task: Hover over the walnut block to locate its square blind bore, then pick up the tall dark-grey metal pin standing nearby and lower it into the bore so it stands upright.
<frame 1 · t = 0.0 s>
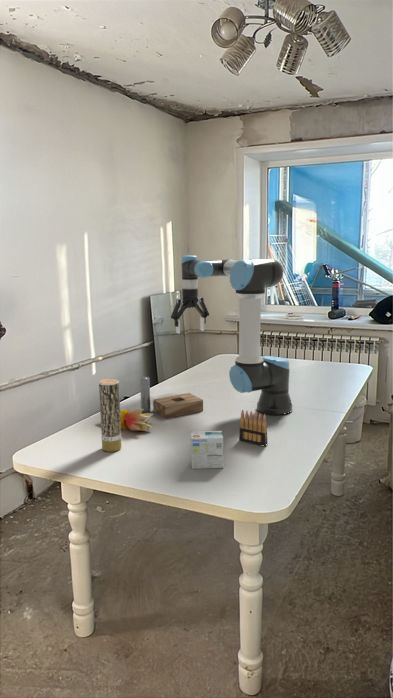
hand: (190, 331, 257), 28 cm above the table, fingers open, 13 cm apart
ammunition clip: (253, 443, 192), on the table
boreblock: (178, 410, 228), on the table
pin: (145, 414, 223), on the table
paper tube: (111, 449, 188), on the table
light bulb box: (207, 465, 174), on the table
torch: (126, 428, 208), on the table
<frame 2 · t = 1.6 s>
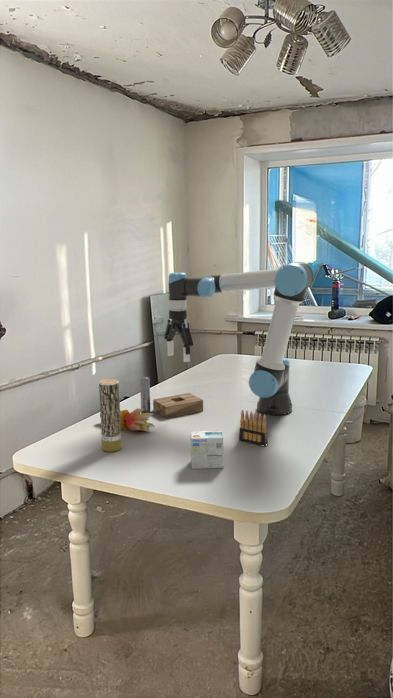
hand: (178, 358, 226), 22 cm above the table, fingers open, 13 cm apart
nothing on the table moved.
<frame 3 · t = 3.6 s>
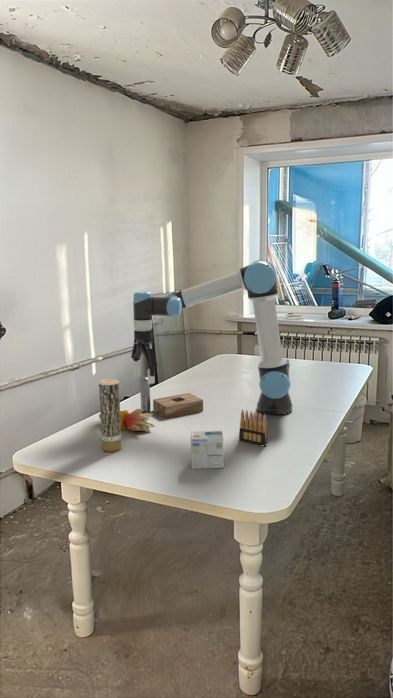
hand: (144, 379, 220), 15 cm above the table, fingers open, 13 cm apart
nothing on the table moved.
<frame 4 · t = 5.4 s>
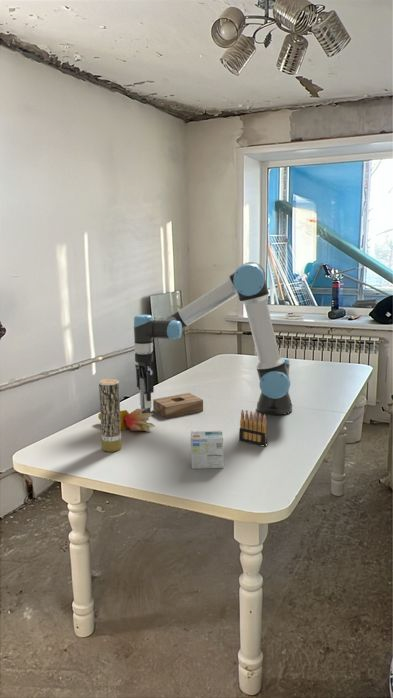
hand: (145, 406, 222), 4 cm above the table, fingers closed on pin, 4 cm apart
pin: (145, 414, 223), on the table, touching gripper
everything else where it was.
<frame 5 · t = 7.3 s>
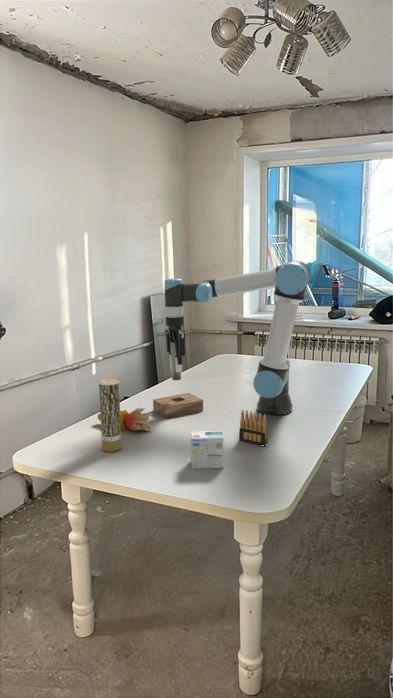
hand: (176, 370, 223), 18 cm above the table, fingers closed on pin, 4 cm apart
pin: (176, 379, 224), point 14 cm above the table, touching gripper
everything else where it was.
when the fingers open (6 cm above the table, at t = 9.5 s): pin stays where it is, resting on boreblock.
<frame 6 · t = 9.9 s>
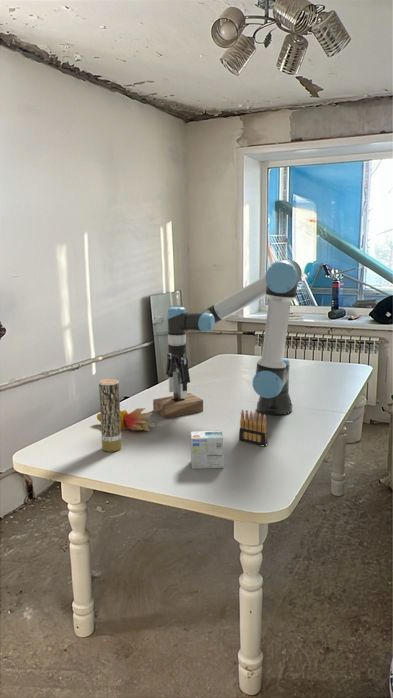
hand: (177, 394, 226), 7 cm above the table, fingers open, 10 cm apart
pin: (178, 407, 227), point 2 cm above the table, touching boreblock
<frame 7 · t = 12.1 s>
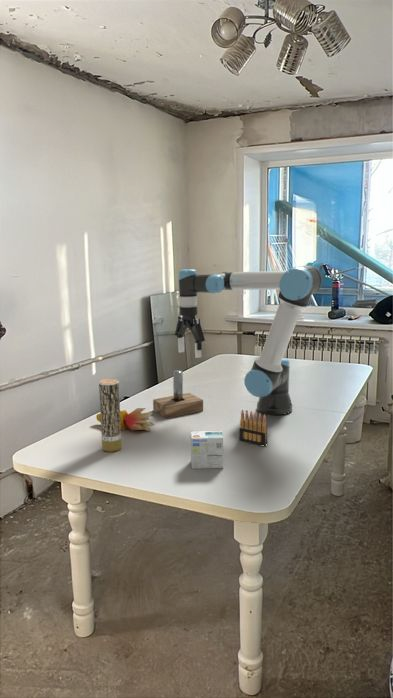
hand: (189, 354, 228), 23 cm above the table, fingers open, 13 cm apart
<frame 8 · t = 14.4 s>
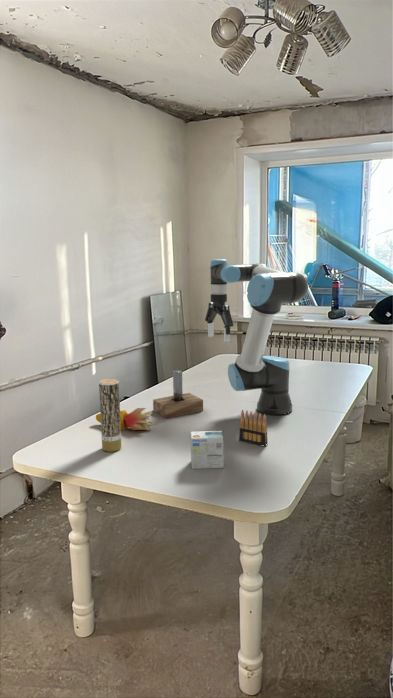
hand: (218, 339, 245), 27 cm above the table, fingers open, 13 cm apart
at the end: pin 0.0 cm off-centre on the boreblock, point 1.5 cm above the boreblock's base; pin tilted 1°; the gripper is holding nothing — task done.
